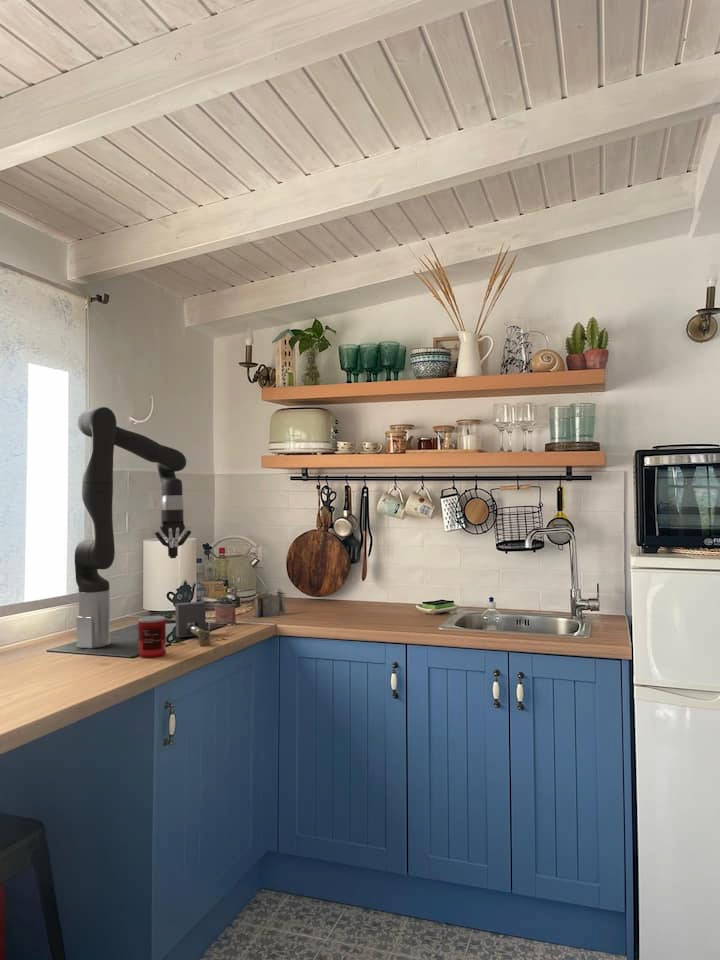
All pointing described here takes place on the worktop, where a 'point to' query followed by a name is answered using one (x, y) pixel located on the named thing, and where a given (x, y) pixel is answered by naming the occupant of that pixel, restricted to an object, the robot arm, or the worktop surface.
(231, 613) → the lighter
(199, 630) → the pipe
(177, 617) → the block
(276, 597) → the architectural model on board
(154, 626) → the canned food
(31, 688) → the worktop surface
